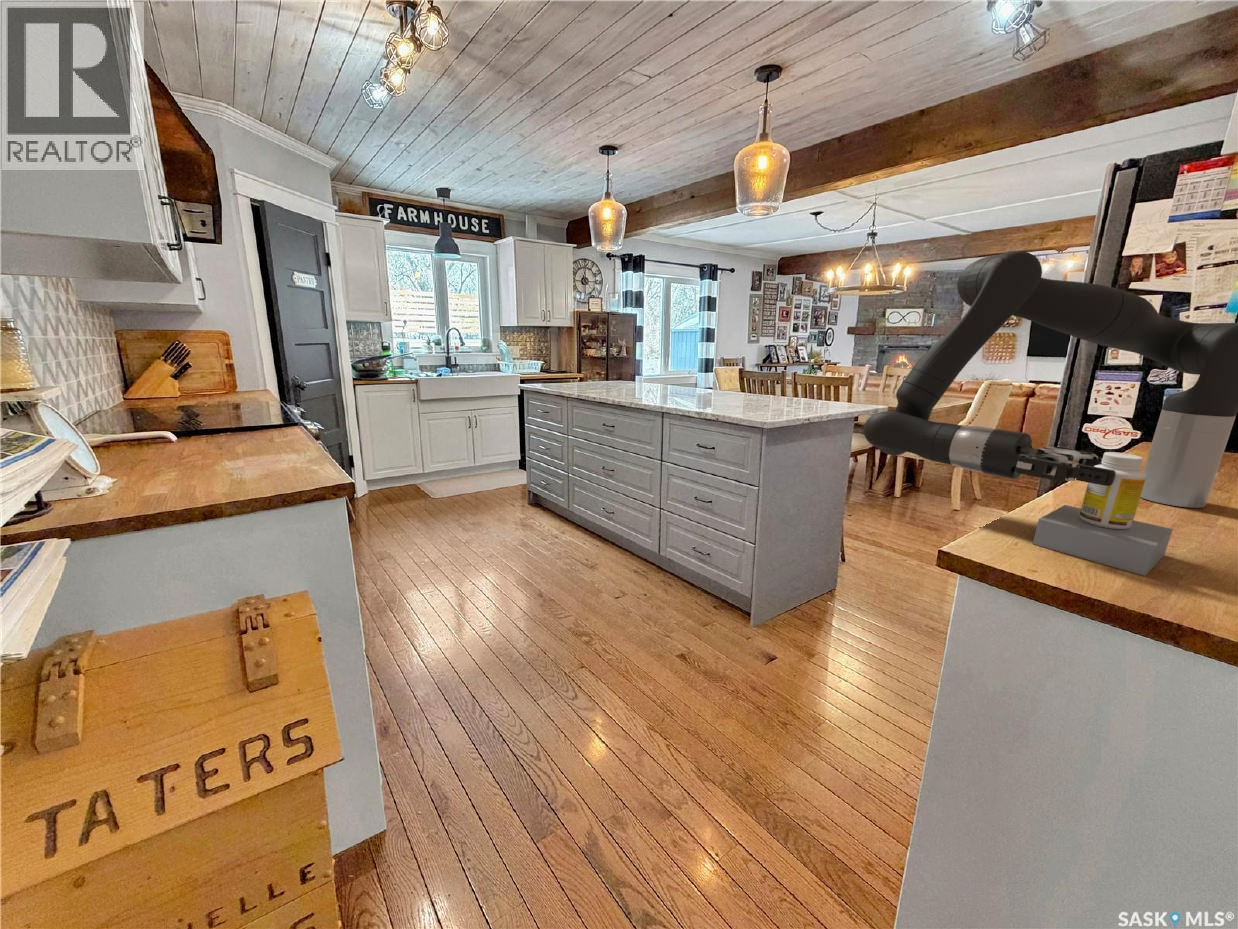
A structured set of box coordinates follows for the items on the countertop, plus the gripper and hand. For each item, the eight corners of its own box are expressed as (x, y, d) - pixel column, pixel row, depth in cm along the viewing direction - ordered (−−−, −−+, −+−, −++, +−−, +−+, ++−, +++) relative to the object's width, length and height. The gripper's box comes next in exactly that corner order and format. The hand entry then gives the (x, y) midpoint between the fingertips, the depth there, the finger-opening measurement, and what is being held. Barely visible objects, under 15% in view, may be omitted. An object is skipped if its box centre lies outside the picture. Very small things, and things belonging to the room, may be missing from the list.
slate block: (1059, 528, 82) (1065, 504, 81) (1164, 555, 72) (1173, 529, 71) (1032, 544, 75) (1038, 518, 74) (1144, 576, 65) (1154, 547, 64)
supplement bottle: (1133, 525, 72) (1154, 456, 70) (1127, 534, 69) (1149, 462, 66) (1082, 513, 76) (1100, 448, 74) (1074, 521, 73) (1093, 453, 70)
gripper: (975, 432, 78) (1116, 454, 65) (1010, 425, 86) (1142, 443, 73) (965, 478, 80) (1100, 508, 67) (1000, 467, 88) (1127, 491, 75)
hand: (1122, 474), depth 70 cm, fingers open, 8 cm apart
